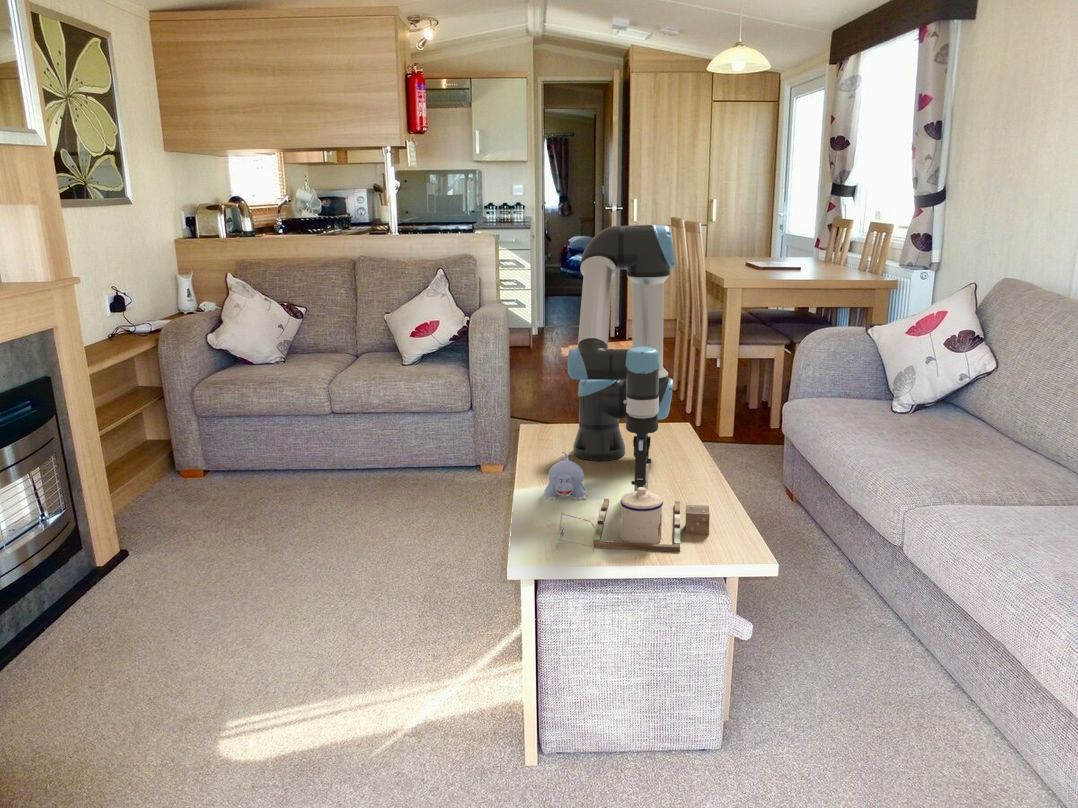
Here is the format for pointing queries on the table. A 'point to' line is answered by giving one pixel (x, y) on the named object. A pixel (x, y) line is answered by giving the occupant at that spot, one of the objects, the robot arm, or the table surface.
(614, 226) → the robot arm
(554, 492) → the hippopotamus toy
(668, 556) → the table surface
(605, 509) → the track
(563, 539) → the sunglasses
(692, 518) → the die
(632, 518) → the teacup with lid
